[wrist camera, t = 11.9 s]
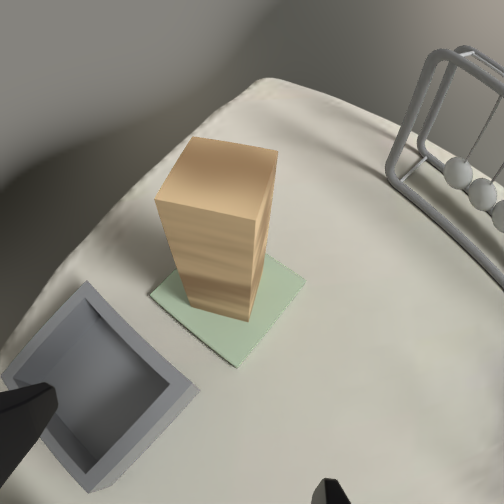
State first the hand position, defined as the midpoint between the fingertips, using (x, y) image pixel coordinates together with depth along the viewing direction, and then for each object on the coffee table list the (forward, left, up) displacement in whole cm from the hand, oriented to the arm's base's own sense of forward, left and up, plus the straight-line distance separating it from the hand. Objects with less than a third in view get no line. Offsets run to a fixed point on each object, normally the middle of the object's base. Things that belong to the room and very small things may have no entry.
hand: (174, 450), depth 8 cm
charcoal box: (-3, +8, -14) cm, 16 cm away
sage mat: (+10, +6, -14) cm, 18 cm away
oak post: (+10, +6, -13) cm, 17 cm away
